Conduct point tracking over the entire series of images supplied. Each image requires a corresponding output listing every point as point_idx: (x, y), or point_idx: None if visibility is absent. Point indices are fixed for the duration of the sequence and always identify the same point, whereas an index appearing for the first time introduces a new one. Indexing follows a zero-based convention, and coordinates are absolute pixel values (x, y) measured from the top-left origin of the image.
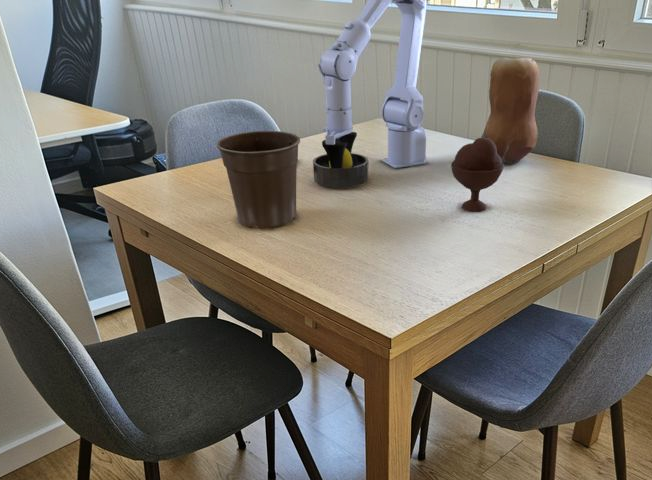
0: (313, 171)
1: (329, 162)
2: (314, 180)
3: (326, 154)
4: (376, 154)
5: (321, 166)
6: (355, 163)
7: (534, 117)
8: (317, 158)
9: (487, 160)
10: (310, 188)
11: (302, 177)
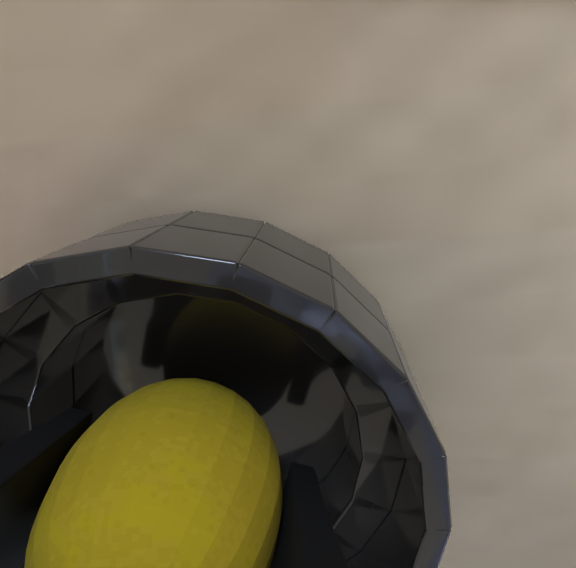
0: (140, 228)
1: (121, 418)
2: (119, 225)
3: (389, 387)
4: None
5: None
6: (361, 547)
7: None
8: (241, 293)
9: None
10: (34, 196)
11: (301, 94)
